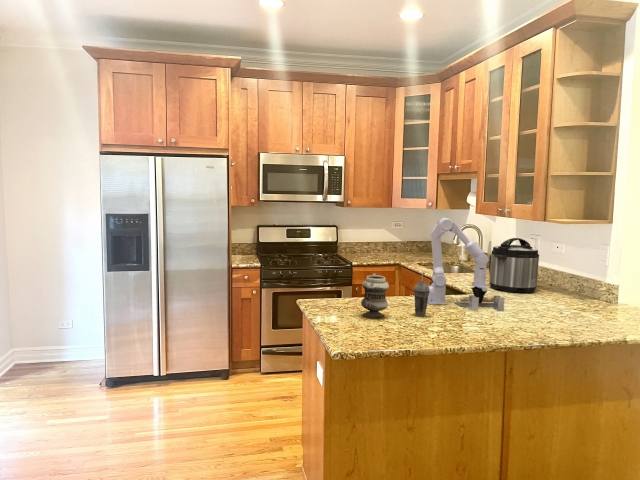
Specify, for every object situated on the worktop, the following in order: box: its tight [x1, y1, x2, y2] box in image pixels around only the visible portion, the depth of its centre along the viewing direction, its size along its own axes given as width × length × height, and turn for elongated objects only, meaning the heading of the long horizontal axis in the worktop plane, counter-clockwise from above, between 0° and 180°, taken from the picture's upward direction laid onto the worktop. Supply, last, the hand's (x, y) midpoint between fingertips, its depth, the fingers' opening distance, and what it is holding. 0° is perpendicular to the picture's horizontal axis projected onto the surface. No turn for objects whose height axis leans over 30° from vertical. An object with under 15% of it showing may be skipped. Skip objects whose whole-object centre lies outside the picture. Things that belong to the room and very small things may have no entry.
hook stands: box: [467, 294, 505, 312], centre depth 230 cm, size 16×5×6 cm, turn 95°
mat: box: [453, 301, 494, 308], centre depth 239 cm, size 22×8×1 cm, turn 95°
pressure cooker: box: [488, 237, 540, 294], centre depth 285 cm, size 30×28×32 cm
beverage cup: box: [413, 272, 430, 318], centre depth 213 cm, size 7×7×20 cm
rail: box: [459, 296, 494, 303], centre depth 239 cm, size 18×2×2 cm, turn 95°
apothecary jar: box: [360, 274, 390, 319], centre depth 210 cm, size 12×12×18 cm
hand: (478, 302), depth 239 cm, fingers closed on rail, 2 cm apart
